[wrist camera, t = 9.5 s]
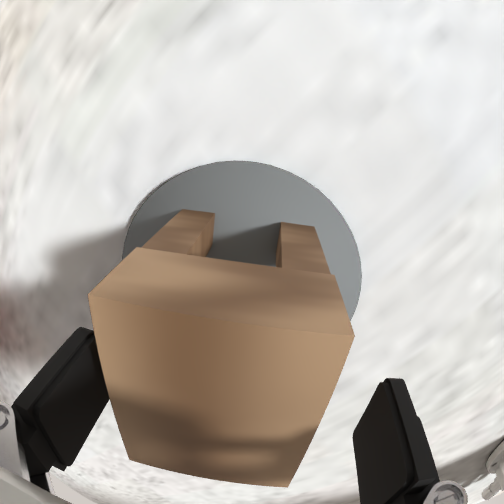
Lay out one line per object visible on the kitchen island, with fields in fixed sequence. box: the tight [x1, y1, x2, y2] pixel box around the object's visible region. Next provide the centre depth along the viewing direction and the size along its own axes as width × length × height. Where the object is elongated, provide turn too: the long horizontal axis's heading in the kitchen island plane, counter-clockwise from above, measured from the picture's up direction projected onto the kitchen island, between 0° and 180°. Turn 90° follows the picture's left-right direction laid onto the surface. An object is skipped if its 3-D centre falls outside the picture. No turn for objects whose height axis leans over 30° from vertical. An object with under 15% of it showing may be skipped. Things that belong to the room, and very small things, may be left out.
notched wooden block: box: [88, 209, 355, 487], centre depth 12 cm, size 6×8×8 cm
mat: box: [122, 161, 362, 321], centre depth 15 cm, size 12×12×1 cm
